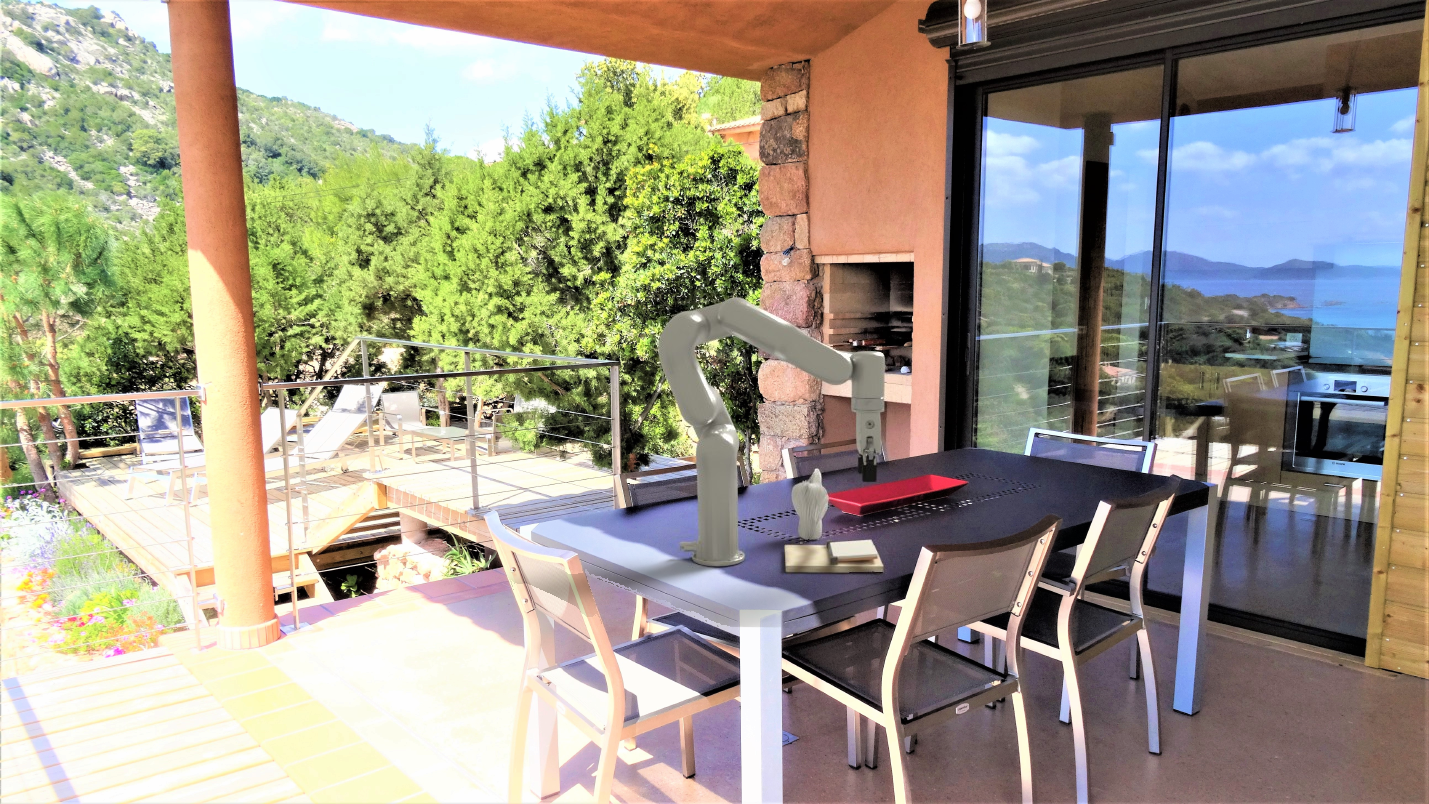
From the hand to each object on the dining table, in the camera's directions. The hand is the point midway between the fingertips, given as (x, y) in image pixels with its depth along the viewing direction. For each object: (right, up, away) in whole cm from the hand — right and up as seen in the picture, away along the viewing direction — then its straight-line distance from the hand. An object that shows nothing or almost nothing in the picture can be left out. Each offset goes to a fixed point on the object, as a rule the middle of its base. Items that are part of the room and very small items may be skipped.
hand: (866, 477), depth 202 cm
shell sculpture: (-11, -18, +23) cm, 31 cm away
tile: (-3, -17, +2) cm, 17 cm away
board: (-8, -20, +3) cm, 22 cm away
